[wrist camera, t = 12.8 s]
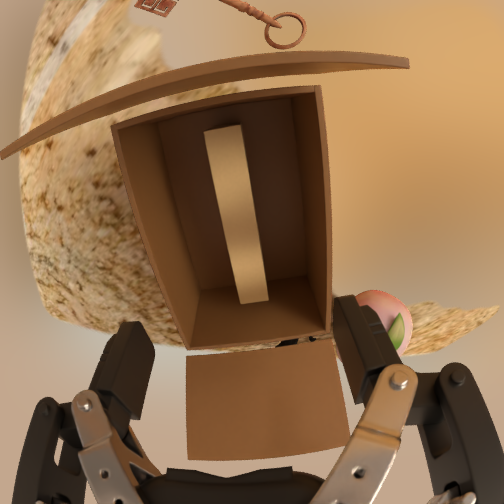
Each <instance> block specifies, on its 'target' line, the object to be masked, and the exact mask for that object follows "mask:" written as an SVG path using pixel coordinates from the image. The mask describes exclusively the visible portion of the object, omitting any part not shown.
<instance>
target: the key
mask: <svg viewBox="0 0 504 504" xmlns="http://www.w3.org/2000/svg"><path fill="white" fill-rule="evenodd" d="M144 1H145V0H138V2H137V3H136V4H135V7H137V8H140V9H143V10H146V11H149V12H152V13H155V14H158V15H160V16H163V17H166V16H167V15H168V14H169V12H170V11H171V10H172V8H173V7H174V6H175V5H176V3H177V2H175V1H172V0H162V1H161V2H160V0H157V1H156V0H146V1H145V3H144ZM155 1H156V3H155V4H154V2H155ZM178 1H179V0H178ZM219 1H222V2H224V3H226V4H228V5H230V6H233V7H234V8H236V9H238V10H239V11H241V12H246V13H247V14H248V15H250V16H251V15H252V16H254V17H256V19H258V20H261V21H263V22H265V23H266V24H267V25H266V28H265V39H266V41H267V43H268V44H269V45H270V46H272V47H274V48H277V49H289V48H291V47H294V46H296V45H297V44H298V43H300V42H301V41H302V39H303V38H304V36H305V34H306V30H307V27H306V23H305V21H304V19H303V18H302V17H301V16H300V15H298V14H296V13H292V12H286V13H285V12H284V13H280V14H278V15H276V16H274V17H273V18H271V17H270V16H268V15H266V14H264V12H262V11H259V10H257V9H256V8H255V7H251V6H250V5H249V4H248V3H246V2H242V1H240V0H219ZM159 2H160V3H159ZM143 3H144V4H145V5H148V6H152V5H153V4H154V5H153V7H152V8H151V9H150V8H147V7H144V6H141V5H142V4H143ZM158 3H159V5H158V6H157V4H158ZM156 6H157V7H156ZM155 7H156V8H157V9H159V10H162V11H165V9H166V8H167V7H168V9H167V10H166V11H165V13H161V12H159V11H156V10H154V8H155ZM283 16H291V17H294V18H296V19H298V20H299V21H300V23H301V24H302V27H303V30H302V35H301V37H300V38H299V39H298V40H297V41H296V42H294V43H292V44H290V45H278V44H276V43H274V42H273V41H272V40H271V39H270V38H269V35H268V30H269V27H270V26H272V27H276V28H282V26H281V25H280V24H279V23H278V22H277V20H276V19H278V18H280V17H283Z"/></svg>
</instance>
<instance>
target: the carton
mask: <svg viewBox="0 0 504 504" xmlns="http://www.w3.org/2000/svg"><path fill="white" fill-rule="evenodd" d="M409 68H410V66H409V59H408V58H404V57H398V56H391V55H383V54H374V53H362V52H348V51H347V52H346V51H291V52H276V53H265V54H255V55H247V56H240V57H234V58H228V59H221V60H216V61H210V62H206V63H201V64H196V65H192V66H188V67H183V68H180V69H176V70H172V71H168V72H165V73H161V74H158V75H155V76H151V77H148V78H145V79H142V80H139V81H136V82H133V83H130V84H127V85H125V86H122V87H119V88H117V89H114V90H112V91H109V92H107V93H104V94H102V95H99V96H97V97H95V98H93V99H90V100H88V101H86V102H84V103H82V104H79V105H77V106H75V107H73V108H71V109H69V110H67V111H65V112H63V113H61V114H60V115H58V116H56V117H54V118H52V119H50V120H49V121H47V122H45V123H43V124H42V125H40V126H38V127H36V128H35V129H33V130H32V131H30V132H28V133H27V134H25V135H24V136H22V137H20V138H19V139H17V140H16V141H15V142H13V143H12V144H10V145H9V146H7V147H6V148H4V149H3V150H2V151H0V157H1V160H3V159H5V158H7V157H9V156H11V155H13V154H14V153H16V152H18V151H20V150H22V149H24V148H26V147H28V146H30V145H32V144H35V143H37V142H39V141H41V140H43V139H46V138H48V137H50V136H52V135H55V134H57V133H60V132H62V131H65V130H67V129H70V128H72V127H75V126H78V125H80V124H83V123H86V122H89V121H92V120H95V119H98V118H101V117H104V116H107V115H110V114H113V113H115V112H118V111H121V110H124V109H126V108H129V107H132V106H135V105H138V104H142V103H145V102H148V101H151V100H155V99H158V98H161V97H165V96H169V95H173V94H176V93H180V92H184V91H189V90H193V89H197V88H202V87H207V86H212V85H217V84H223V83H228V82H234V81H241V80H248V79H256V78H263V77H274V76H285V75H301V74H321V73H329V72H337V71H338V72H339V71H349V70H364V69H409ZM237 122H241V124H242V130H243V136H244V142H245V148H246V154H247V160H248V166H249V172H250V178H251V185H252V191H253V197H254V203H255V209H256V216H257V222H258V228H259V234H260V241H261V247H262V254H263V260H264V266H265V274H266V282H267V290H268V298H269V300H268V301H261V302H254V303H246V304H240V300H239V296H238V291H237V287H236V283H235V278H234V274H233V270H232V265H231V261H230V256H229V252H228V248H227V243H226V239H225V234H224V229H223V225H222V220H221V216H220V211H219V206H218V202H217V197H216V192H215V187H214V182H213V178H212V173H211V168H210V163H209V158H208V153H207V148H206V143H205V138H204V133H203V132H204V131H205V130H207V129H209V128H211V127H215V126H220V125H225V124H231V123H237ZM111 131H112V136H113V140H114V144H115V149H116V153H117V157H118V161H119V165H120V169H121V172H122V176H123V180H124V183H125V187H126V190H127V194H128V197H129V201H130V204H131V207H132V211H133V214H134V217H135V220H136V223H137V226H138V229H139V232H140V235H141V238H142V241H143V244H144V247H145V250H146V252H147V255H148V258H149V261H150V263H151V266H152V269H153V271H154V274H155V277H156V279H157V282H158V284H159V287H160V289H161V292H162V294H163V297H164V299H165V302H166V304H167V306H168V309H169V311H170V314H171V316H172V318H173V320H174V323H175V325H176V327H177V329H178V332H179V334H180V336H181V338H182V340H183V343H184V345H185V347H186V349H187V350H201V349H214V348H225V347H235V346H245V345H253V344H261V343H269V342H276V341H283V340H290V339H296V338H303V337H309V336H314V335H320V334H325V333H330V322H331V299H332V209H331V187H330V171H329V156H328V144H327V134H326V123H325V115H324V106H323V98H322V90H321V86H320V85H314V86H313V85H312V86H294V87H282V88H271V89H263V90H254V91H247V92H240V93H234V94H228V95H222V96H217V97H212V98H207V99H202V100H197V101H193V102H188V103H184V104H180V105H176V106H172V107H168V108H164V109H161V110H157V111H154V112H150V113H147V114H144V115H140V116H137V117H134V118H131V119H128V120H125V121H122V122H119V123H117V124H114V125H111Z"/></svg>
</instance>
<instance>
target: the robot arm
mask: <svg viewBox="0 0 504 504" xmlns="http://www.w3.org/2000/svg"><path fill="white" fill-rule="evenodd" d="M333 334H334V338H335V342H336V345H337V348H338V351H339V354H340V357H341V360H342V363H343V366H344V369H345V373H346V376H347V379H348V382H349V386H350V389H351V392H352V395H353V399H354V403H355V405H356V404H360V403H363V404H364V407H365V410H364V412H363V414H362V416H361V419H360V420H359V422H358V424H357V426H356V428H355V430H354V432H353V433H352V435H351V437H350V439H349V441H348V443H347V445H346V446H345V448H344V450H343V452H342V454H341V455H340V457H339V459H338V460H337V462H336V464H335V465H334V467H333V469H332V470H331V472H330V474H329V475H328V477H327V478H326V480H324V479H322V478H320V477H318V476H315V475H312V474H308V473H304V472H297V471H293V470H292V466H290V467H281V468H271V469H260V470H256V471H253V472H249V473H245V474H242V475H238V476H234V477H229V478H224V477H219V476H216V475H211V474H208V473H204V472H200V471H197V470H185V469H174V468H167V473H166V474H164V475H162V474H161V473H160V471H159V470H158V469H157V468H156V467H155V466H154V465H153V464H152V463H151V462H150V460H149V459H148V457H147V456H146V454H145V452H144V450H143V449H142V447H141V445H140V443H139V441H138V439H137V438H136V436H135V434H134V432H133V430H132V428H131V427H130V425H129V422H130V419H133V420H140V418H141V413H142V409H143V404H144V399H145V395H146V391H147V387H148V382H149V378H150V374H151V371H152V367H153V363H154V359H155V349H154V346H153V343H152V342H151V340H150V338H149V336H148V335H147V333H146V331H145V329H144V327H143V325H142V324H141V322H139V321H132V322H123V323H122V324H121V325H120V328H119V330H118V332H117V334H114V335H113V336H112V337H111V338H110V340H109V341H108V342H107V344H106V346H105V348H104V351H103V354H102V356H101V358H100V361H99V363H98V365H97V368H96V370H95V373H94V376H93V378H92V381H91V383H90V386H89V389H88V390H83V391H81V392H80V393H78V394H77V395H76V396H75V397H74V399H73V401H72V402H69V403H62V404H59V403H57V402H56V401H55V400H54V399H53V398H51V397H45V398H43V399H42V400H40V401H39V402H38V404H37V405H36V408H35V410H34V413H33V417H32V419H31V422H30V425H29V429H28V432H27V436H26V439H25V442H24V446H23V450H22V453H21V457H20V462H19V466H18V470H17V475H16V480H15V486H14V492H13V498H12V504H84V498H85V489H86V482H87V481H88V483H89V485H90V488H91V490H92V492H93V494H94V497H95V499H96V501H97V503H98V504H372V503H373V500H374V499H375V497H376V495H377V493H378V491H379V490H380V488H381V486H382V484H383V482H384V480H385V478H386V476H387V474H388V472H389V470H390V468H391V466H392V463H393V461H394V459H395V457H396V454H397V452H398V449H399V447H400V443H401V439H400V437H401V434H402V431H403V428H404V426H405V425H417V427H418V430H419V434H420V437H421V441H422V445H423V448H424V452H425V456H426V460H427V464H428V469H429V473H430V477H431V482H432V487H433V492H434V497H433V498H432V499H430V500H429V502H428V503H427V504H504V453H503V450H502V447H501V443H500V441H499V438H498V435H497V432H496V429H495V426H494V424H493V421H492V418H491V416H490V413H489V411H488V409H487V406H486V404H485V402H484V399H483V397H482V394H481V392H480V390H479V388H478V386H477V384H476V381H475V380H474V377H473V375H472V373H471V371H470V370H469V369H468V368H467V367H466V366H465V365H463V364H461V363H456V362H455V363H449V364H447V365H446V366H444V367H443V368H442V370H441V372H438V373H417V372H414V370H413V369H411V368H410V367H408V366H406V365H404V364H403V363H402V361H401V360H400V357H399V355H398V353H397V351H396V349H395V347H394V345H393V343H392V341H391V339H390V337H389V335H388V333H387V332H386V329H385V327H384V325H383V324H382V321H381V320H380V318H379V316H378V314H377V312H376V311H375V310H373V309H372V308H371V307H370V306H368V305H363V306H359V304H358V302H357V300H356V298H355V296H354V295H347V296H341V297H336V298H335V299H334V311H333ZM58 438H60V439H62V440H63V441H64V442H63V446H62V451H61V456H60V460H59V465H58V466H57V465H56V463H55V461H54V454H55V450H56V446H57V442H58Z"/></svg>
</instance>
